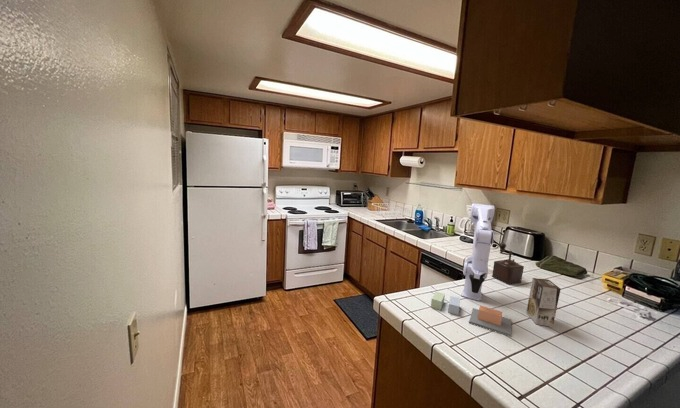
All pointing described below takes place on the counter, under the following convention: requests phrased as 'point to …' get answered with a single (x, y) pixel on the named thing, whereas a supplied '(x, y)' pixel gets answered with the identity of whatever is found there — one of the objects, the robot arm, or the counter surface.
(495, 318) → the terracotta brick
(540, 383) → the counter surface
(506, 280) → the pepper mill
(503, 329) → the slate mat
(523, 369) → the counter surface
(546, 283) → the coffee box
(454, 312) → the blue brick
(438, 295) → the sage brick
